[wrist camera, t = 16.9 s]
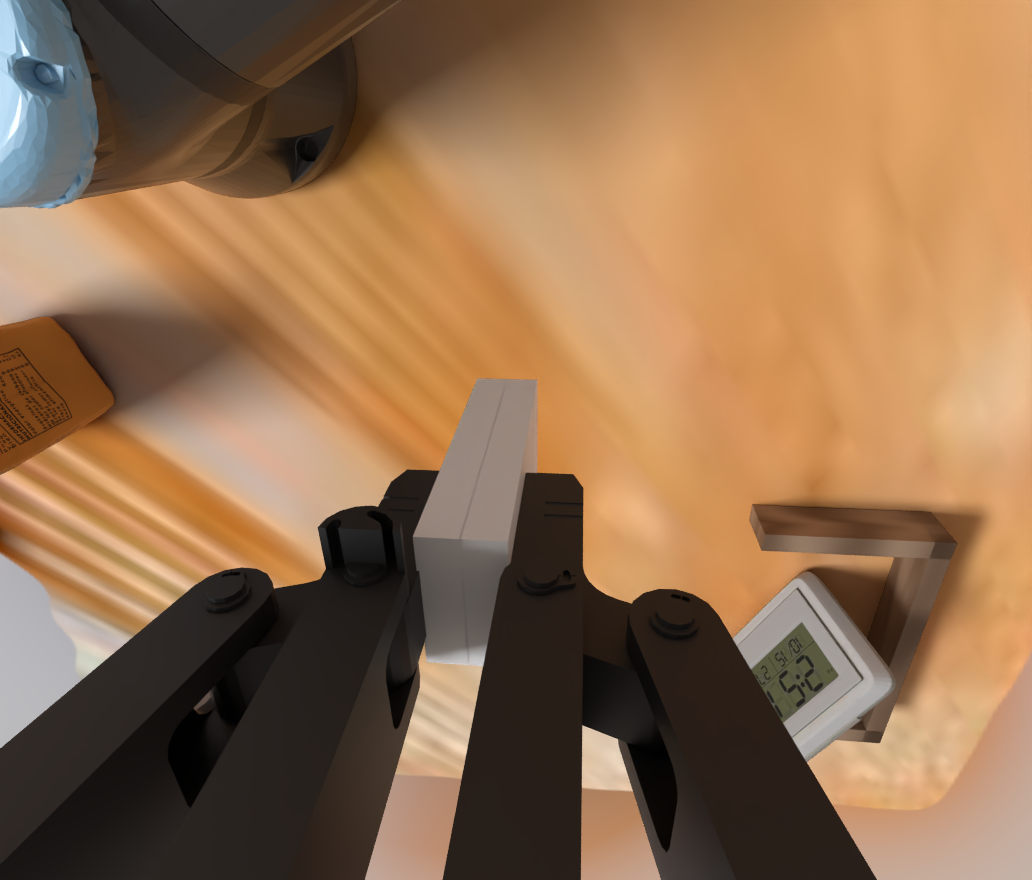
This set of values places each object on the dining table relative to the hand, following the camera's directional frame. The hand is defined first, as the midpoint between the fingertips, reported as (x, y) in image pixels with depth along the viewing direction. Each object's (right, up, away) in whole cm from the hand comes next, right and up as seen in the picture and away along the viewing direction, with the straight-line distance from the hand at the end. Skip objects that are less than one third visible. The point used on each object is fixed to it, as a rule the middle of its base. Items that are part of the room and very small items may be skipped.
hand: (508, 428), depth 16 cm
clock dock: (+25, -15, +39) cm, 49 cm away
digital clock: (+23, -18, +40) cm, 50 cm away
